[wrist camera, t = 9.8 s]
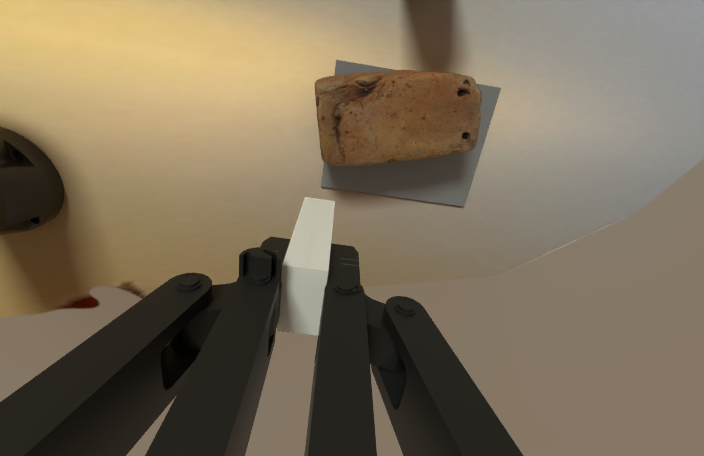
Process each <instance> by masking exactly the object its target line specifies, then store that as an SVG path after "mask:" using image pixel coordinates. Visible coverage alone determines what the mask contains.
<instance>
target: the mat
mask: <svg viewBox="0 0 704 456" xmlns="http://www.w3.org/2000/svg"><path fill="white" fill-rule="evenodd" d="M378 71H393V70H392V69H386V68H381V67H375V66H369V65H363V64H357V63H351V62H346V61H340V60H336V68H335V76H336V75H343V74H351V73H361V72H378ZM477 85H478V86H479V88H480V90H481V92H482V102H481V105H480V110H481V122H480V127H479V135H478V140H477V143H476V146H475V148H474V149H473V150H471V151H468V152H463V153H451V154H449V155H445V156H438V157H432V158H425V159H417V160H409V161H397V162H389V163H384V164H374V165H365V166H332V165H328V164H326V163H325V162H324V168H323V176H322V184H321V187H328V188H335V189H342V190H349V191H356V192H363V193H371V194H378V195H385V196H392V197H399V198H406V199H413V200H421V201H428V202H435V203H442V204H449V205H456V206H463V207H464V205H465V202H466V198H467V195H468V192H469V189H470V186H471V182H472V179H473V176H474V173H475V169H476V166H477V163H478V160H479V157H480V153H481V150H482V147H483V144H484V141H485V137H486V134H487V131H488V128H489V124H490V121H491V118H492V115H493V112H494V108H495V105H496V102H497V99H498V95H499V92H500V89H501V88H497V87H492V86H486V85H480V84H477Z"/></svg>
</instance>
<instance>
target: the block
mask: <svg viewBox="0 0 704 456" xmlns="http://www.w3.org/2000/svg"><path fill="white" fill-rule="evenodd" d="M315 95H316V106H317V119H318V127H319V136H320V148H321V155H322V159H323V161H324V162H325V163H326V164H328V165H332V166H365V165H374V164H384V163H389V162H397V161H409V160H417V159H425V158H432V157H438V156H445V155H449V154H451V153H463V152H468V151H471V150H473V149H474V148H475V146H476V143H477V140H478V135H479V127H480V122H481V110H480V105H481V102H482V92H481V90H480V88H479V86H478V85H477V84H476V83H475V80H474V79H473V78H472V77H469V76H465V75H460V74H454V73H444V72H439V73H438V72H425V71H413V70H393V71H378V72H361V73H351V74H343V75H336V76H330V77H325V78H322V79H319V80H317V81H316V82H315Z"/></svg>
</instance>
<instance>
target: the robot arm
mask: <svg viewBox="0 0 704 456" xmlns="http://www.w3.org/2000/svg"><path fill="white" fill-rule="evenodd" d="M62 203H63V187H62V182H61V179H60V177H59V175H58V172H57V171H56V169H55V167H54V166H53V164H52V163H51V161H50V160H49V159H48V157H47V156H46V155H45V154H44V153H43V152H42V151H41V150H40V149H39V148H38V147H37V146H35V145H34V144H33V143H32V142H30V141H29V140H27V139H26V138H24V137H23V136H21V135H19V134H17V133H15V132H13V131H11V130H8V129H5V128H2V127H0V235H2V234H9V233H16V232H23V231H28V230H31V229H34V228H37V227H39V226H41V225H43V224H45V223H47V222H49V221H50V220H52V219H53V218H54V217H55V216H56V215H57V214H58V212H59V211H60V209H61V206H62ZM334 205H335V201H330V200H323V199H316V198H308V197H305V199H304V202H303V205H302V208H301V211H300V214H299V217H298V220H297V223H296V226H295V228H294V231H293V234H292V237H291V239H285V238H277V237H270V238H268V239H267V240H265V241H263V243H262V245H261V247H260V248H259V247H257V248H250V249H247V250H245V251H243V252H242V253H241V254H240V255H239V278H238V279H237V281H236V282H234V283H230V284H222V285H212V280H211V279H210V278H209V277H208V276H206V275H204V274H199V273H185V274H181V275H177V276H175V277H173V278H171V279H170V280H168V281H167V282H165V283H164V284H163V285H161V286H160V287H159V288H157V289H156V290H154V291H153V292H152V293H150V294H149V295H148V296H146V297H145V298H143V299H142V300H141V301H139V302H138V303H137V304H135V305H134V306H132V307H131V308H130V309H128V310H127V311H126V312H124V313H123V314H121V315H120V316H119V317H117V318H116V319H114V320H113V321H112V322H110V323H109V324H108V325H106V326H105V327H103V328H102V329H101V330H99V331H98V332H97V333H95V334H94V335H92V336H91V337H90V338H88V339H87V340H86V341H84V342H83V343H82V344H80V345H79V346H77V347H76V348H75V349H73V350H72V351H70V352H69V353H68V354H66V355H65V356H63V357H62V358H61V359H60V360H58V361H57V362H55V363H54V364H52V365H51V366H50V367H48V368H47V369H46V370H44V371H43V372H42V373H40V374H39V375H37V376H36V377H35V378H33V379H32V380H30V381H29V382H28V383H26V384H25V385H23V386H22V387H21V388H19V389H18V390H17V391H15V392H14V393H13V394H11V395H10V396H8V397H7V398H6V399H4V400H3V401H1V402H0V456H126V455H127V453H128V452H129V451H130V450H131V449H132V448H133V446H134V445H135V444H136V443H137V442H138V440H139V439H140V438H141V437H142V435H144V433H145V432H146V431H147V430H148V429H149V427H150V426H151V425H152V424H153V423H154V421H155V420H156V419H157V418H158V417H159V415H160V414H161V413H162V412H163V411H164V409H165V408H166V407H167V406H168V404H169V403H170V402H171V401H172V400H173V399H174V397H175V396H176V395H177V396H176V398H175V400H174V402H173V404H172V406H171V407H170V409H169V411H168V413H167V415H166V417H165V419H164V421H163V423H162V425H161V426H160V428H159V430H158V432H157V434H156V436H155V438H154V440H153V442H152V444H151V445H150V447H149V450H148V451H147V453H146V455H145V456H245V453H246V449H247V445H248V442H249V438H250V434H251V430H252V426H253V422H254V419H255V415H256V411H257V408H258V404H259V400H260V396H261V392H262V388H263V385H264V381H265V377H266V373H267V369H268V365H269V362H270V358H271V354H272V351H273V347H274V343H275V333H276V327H277V331H282V332H292V333H301V334H311V335H318V342H317V349H316V356H315V367H314V376H313V385H312V394H311V403H310V411H309V421H308V429H307V438H306V447H305V456H377V452H376V438H375V425H374V413H373V400H372V387H371V374H370V364H371V368H372V372H373V375H374V377H375V380H376V383H377V385H378V388H379V391H380V393H381V396H382V399H383V402H384V404H385V407H386V409H387V412H388V415H389V418H390V420H391V423H392V426H393V429H394V431H395V434H396V436H397V439H398V442H399V445H400V447H401V450H402V453H403V455H404V456H523V455H522V453H521V452H520V450H519V449H518V447H517V446H516V444H515V443H514V441H513V440H512V438H511V437H510V435H509V434H508V432H507V431H506V429H505V428H504V426H503V425H502V423H501V422H500V421H499V419H498V417H497V416H496V415H495V413H494V412H493V410H492V408H491V407H490V405H489V404H488V403H487V401H486V400H485V398H484V396H483V395H482V394H481V392H480V391H479V389H478V388H477V386H476V385H475V383H474V382H473V380H472V379H471V377H470V376H469V374H468V373H467V371H466V370H465V368H464V367H463V365H462V364H461V362H460V361H459V359H458V358H457V356H456V355H455V353H454V352H453V350H452V349H451V348H450V346H449V345H448V343H447V341H446V340H445V339H444V337H443V336H442V334H441V333H440V331H439V330H438V328H437V327H436V325H435V324H434V322H433V321H432V319H431V318H430V316H429V315H428V313H427V312H426V310H425V309H424V307H423V306H422V305H421V304H420V303H418V302H417V301H415V300H413V299H411V298H408V297H402V296H396V297H391V298H390V299H388V300H387V302H386V304H384V303H381V302H378V301H376V300H373V299H371V298H370V297H368V296H367V295H366V294H364V289H363V287H362V286H361V285H360V271H359V256H358V252H357V251H356V249H355V248H354V247H353V246H346V245H338V244H331V238H332V227H333V216H334ZM277 324H278V325H277Z"/></svg>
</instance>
